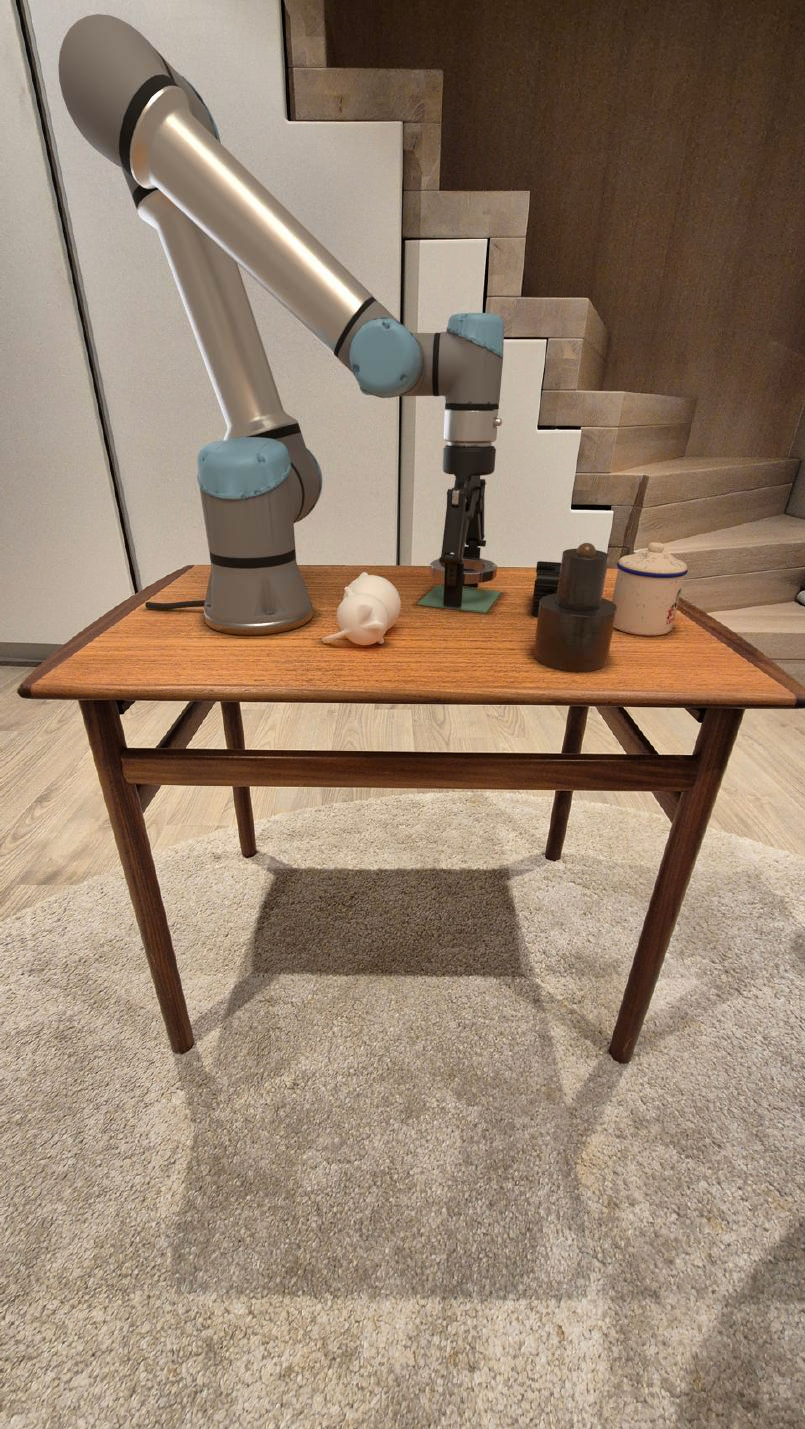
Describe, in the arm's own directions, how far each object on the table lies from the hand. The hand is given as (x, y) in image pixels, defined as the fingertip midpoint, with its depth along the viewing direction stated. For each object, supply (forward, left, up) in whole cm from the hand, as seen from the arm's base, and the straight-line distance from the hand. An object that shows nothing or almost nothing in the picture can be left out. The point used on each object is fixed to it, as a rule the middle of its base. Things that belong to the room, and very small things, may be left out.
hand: (461, 595), depth 96 cm
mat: (0, 0, -1) cm, 1 cm away
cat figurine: (-8, -22, -1) cm, 23 cm away
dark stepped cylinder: (+19, -19, -1) cm, 26 cm away
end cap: (+15, 0, -1) cm, 15 cm away
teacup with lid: (+27, -2, -1) cm, 27 cm away
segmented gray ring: (0, 0, +3) cm, 3 cm away
